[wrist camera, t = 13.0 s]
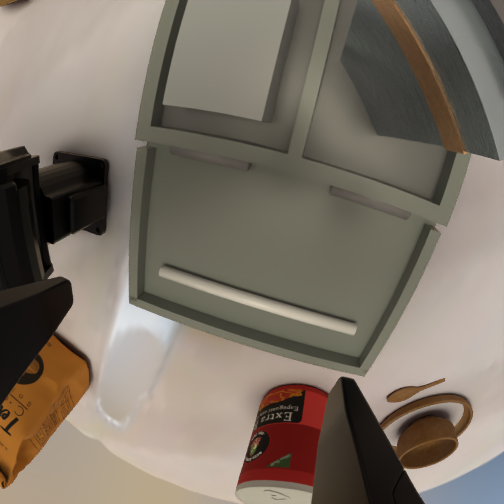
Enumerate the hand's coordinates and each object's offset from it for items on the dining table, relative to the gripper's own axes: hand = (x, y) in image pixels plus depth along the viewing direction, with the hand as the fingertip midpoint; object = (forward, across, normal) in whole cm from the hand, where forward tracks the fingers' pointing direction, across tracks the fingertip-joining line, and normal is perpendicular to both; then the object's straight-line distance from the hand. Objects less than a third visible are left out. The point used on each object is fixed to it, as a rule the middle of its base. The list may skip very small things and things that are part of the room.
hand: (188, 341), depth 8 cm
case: (+13, -1, -3) cm, 13 cm away
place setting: (+14, -20, +20) cm, 32 cm away
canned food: (+13, -8, +18) cm, 24 cm away
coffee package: (+13, +23, +26) cm, 37 cm away
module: (+12, -6, -10) cm, 17 cm away
